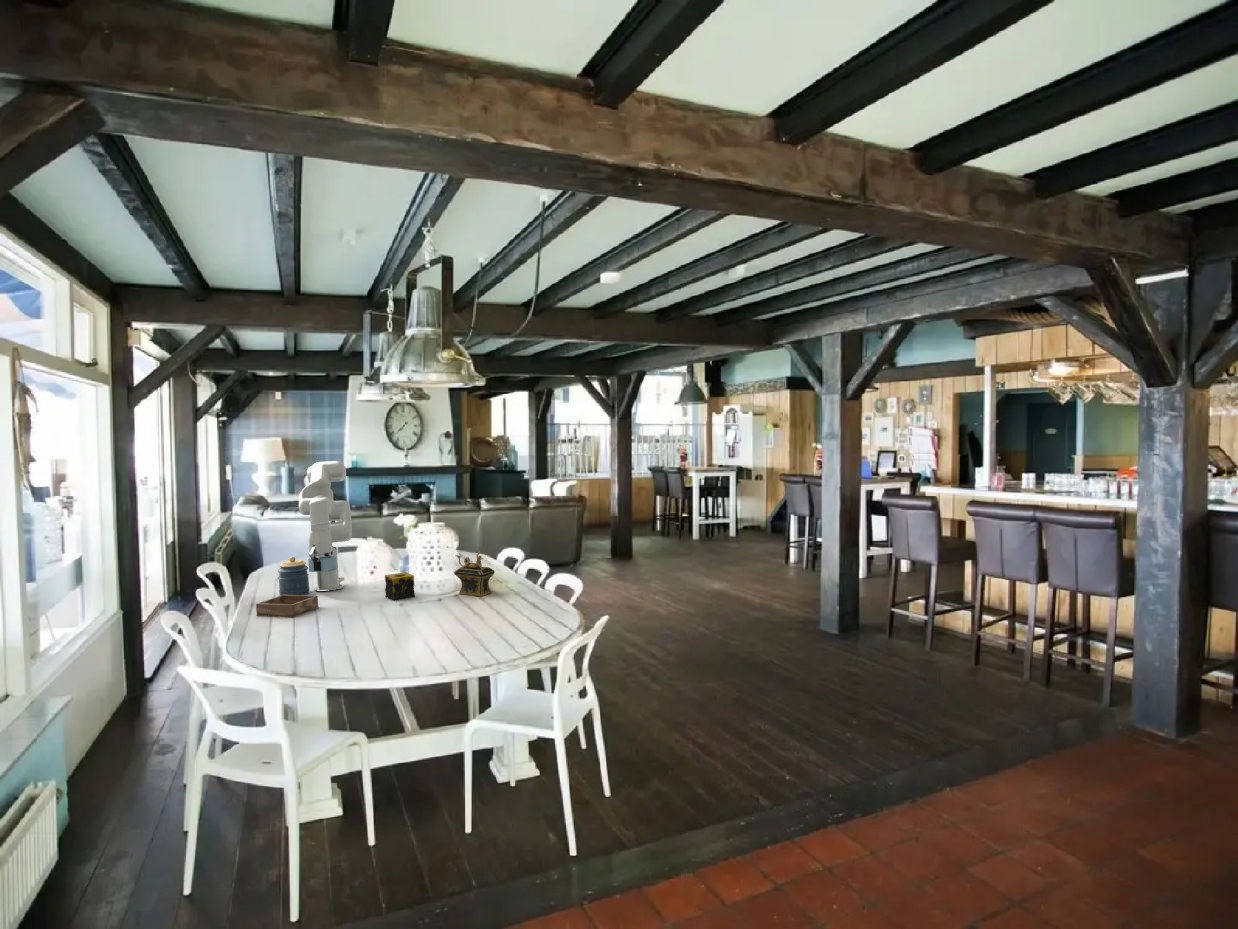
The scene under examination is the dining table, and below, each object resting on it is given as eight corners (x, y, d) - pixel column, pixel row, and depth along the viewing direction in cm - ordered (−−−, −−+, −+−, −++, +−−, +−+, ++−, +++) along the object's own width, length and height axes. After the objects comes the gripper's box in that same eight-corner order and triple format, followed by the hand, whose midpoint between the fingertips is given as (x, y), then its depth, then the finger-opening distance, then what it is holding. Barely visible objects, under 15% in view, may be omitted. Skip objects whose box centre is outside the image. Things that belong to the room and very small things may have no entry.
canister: (305, 589, 343) (302, 553, 342) (313, 594, 333) (311, 556, 332) (275, 594, 335) (273, 557, 334) (283, 599, 325) (281, 560, 324)
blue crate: (318, 568, 314) (317, 556, 314) (336, 569, 312) (336, 556, 312) (309, 571, 308) (308, 559, 308) (327, 572, 306) (326, 559, 306)
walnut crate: (283, 606, 311) (283, 594, 311) (318, 607, 307) (317, 595, 306) (256, 615, 296) (256, 603, 296) (292, 617, 292) (291, 605, 291)
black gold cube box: (385, 597, 321) (383, 575, 321) (407, 593, 327) (405, 571, 327) (393, 601, 313) (391, 578, 312) (415, 597, 319) (414, 575, 318)
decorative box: (497, 592, 322) (495, 549, 321) (482, 597, 313) (480, 552, 312) (463, 588, 332) (461, 546, 331) (448, 593, 324) (446, 550, 322)
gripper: (325, 525, 318) (327, 565, 319) (299, 531, 302) (302, 573, 303) (340, 525, 317) (342, 565, 318) (314, 530, 300) (317, 573, 301)
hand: (322, 568), depth 310 cm, fingers closed on blue crate, 6 cm apart
